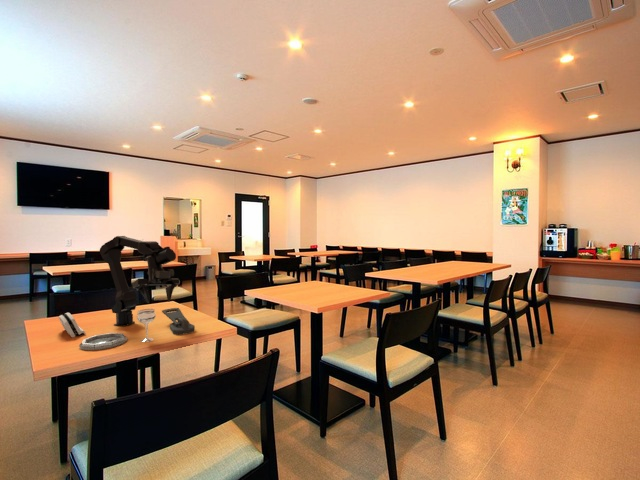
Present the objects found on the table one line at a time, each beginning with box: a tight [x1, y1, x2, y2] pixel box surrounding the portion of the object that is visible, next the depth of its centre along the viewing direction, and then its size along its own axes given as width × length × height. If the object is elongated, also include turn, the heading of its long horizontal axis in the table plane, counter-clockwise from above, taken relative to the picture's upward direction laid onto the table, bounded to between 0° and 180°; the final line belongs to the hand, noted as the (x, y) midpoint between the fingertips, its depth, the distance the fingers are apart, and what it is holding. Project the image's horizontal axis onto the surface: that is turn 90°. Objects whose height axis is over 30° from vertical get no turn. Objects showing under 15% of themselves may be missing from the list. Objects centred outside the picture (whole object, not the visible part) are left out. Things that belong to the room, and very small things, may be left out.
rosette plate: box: [78, 332, 128, 352], centre depth 136 cm, size 16×16×2 cm
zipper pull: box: [161, 307, 196, 336], centre depth 157 cm, size 9×7×25 cm
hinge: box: [58, 312, 87, 338], centre depth 151 cm, size 17×5×10 cm, turn 45°
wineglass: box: [136, 308, 156, 343], centre depth 139 cm, size 7×7×12 cm
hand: (159, 302), depth 150 cm, fingers open, 9 cm apart
